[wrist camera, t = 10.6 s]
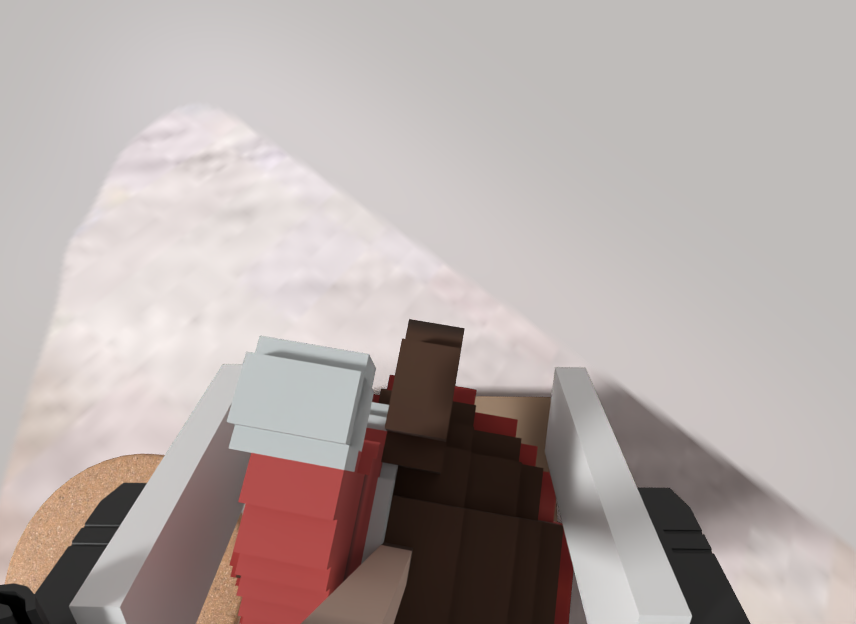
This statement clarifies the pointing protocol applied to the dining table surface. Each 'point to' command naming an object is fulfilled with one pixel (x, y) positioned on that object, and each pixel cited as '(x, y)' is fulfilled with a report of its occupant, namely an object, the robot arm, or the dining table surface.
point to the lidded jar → (69, 515)
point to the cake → (388, 494)
